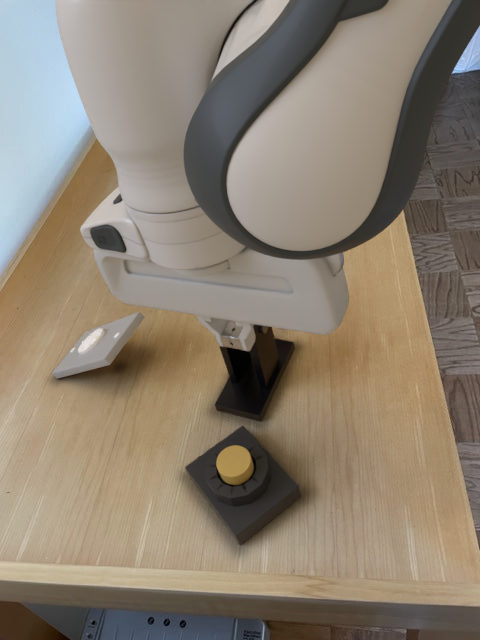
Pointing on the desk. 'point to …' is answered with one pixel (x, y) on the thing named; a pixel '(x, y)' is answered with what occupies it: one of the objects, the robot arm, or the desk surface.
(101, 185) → the desk surface
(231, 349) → the gas tap
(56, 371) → the light switch
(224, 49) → the robot arm
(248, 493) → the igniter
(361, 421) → the desk surface
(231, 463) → the button
